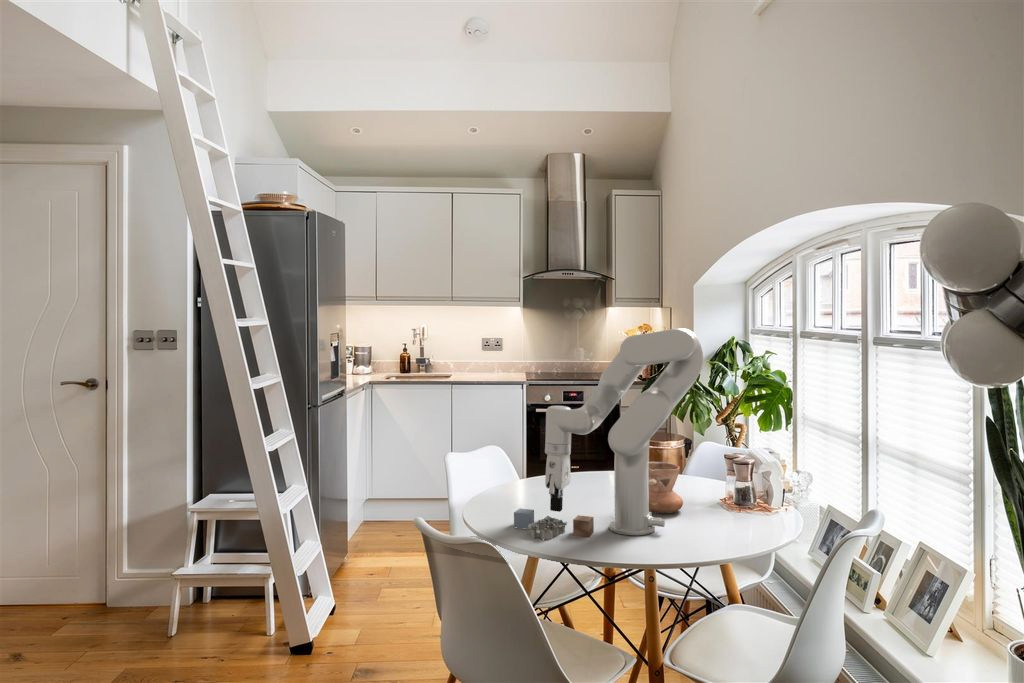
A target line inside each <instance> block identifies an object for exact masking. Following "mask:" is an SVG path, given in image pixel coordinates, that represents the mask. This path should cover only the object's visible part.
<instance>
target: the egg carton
mask: <svg viewBox="0 0 1024 683" xmlns="http://www.w3.org/2000/svg"><path fill="white" fill-rule="evenodd" d="M567 524H568V522H567V521H565V522H564V521H563V519H558V518H555V517H551V516H549V515H547V516H545V517H543V518H541V519H538V520H537V521H534V523H530V524H529V525H528V529H527V530H529V536H530V535H531V536H530V537H531V538H532V537H536V538H540V537H541V538H540V539H541V540H542V539H544V540H543V541H546V540H545V539H551V540H553V538H554V537H558V535H559V534H565V533H566V526H567Z"/></svg>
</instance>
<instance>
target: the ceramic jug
mask: <svg viewBox="0 0 1024 683" xmlns="http://www.w3.org/2000/svg"><path fill="white" fill-rule="evenodd" d="M679 474H680V466H678V465H676V464H674V463H671V462H666V461H649V512H652V514H656V515H667V514H668V515H669V514H672V513H675V512H678V511H679V510H681V509H682V507H683V505H684V501H683V498H682V497H681V496H680V495H679V494H678V493H676V492H675V491H674V490H673V488H674V487H675V485H676V481H677V479H678V476H679Z"/></svg>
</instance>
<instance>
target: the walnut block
mask: <svg viewBox="0 0 1024 683" xmlns="http://www.w3.org/2000/svg"><path fill="white" fill-rule="evenodd" d="M594 527H595V525H594V516H590V515H589V516H588V515H579V514H578V515H577V516H575V518H573V519H572V531H573V532H572V533H573V534H572V535H573V536H574V537H581V538H591V536H592V535H593V534H594V533H595V529H594Z"/></svg>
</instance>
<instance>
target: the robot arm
mask: <svg viewBox="0 0 1024 683" xmlns="http://www.w3.org/2000/svg"><path fill="white" fill-rule="evenodd" d="M619 347H620V348H619V351H618V352H617V354H615V356H614V357H613V359H612V360H611V361H610V362H609V363H608V365H607V366H606V368H605V369H604V370H603V371H602V373H601V375H600V378H599V382H598V385H597V386H596V388H595V390H594V391H593V393H592V394H591V395H590V396H589V398H588V399H587V400H586V401H585V403H584V404H583V405H582V406H581V407H579V408H573V409H572V408H571V407H569V406H566V405H551V406H548V407H547V408H546V412H545V441H544V442H545V443H544V444H545V445H544V446H545V447H544V453H545V454H546V455H547V457H546V464H545V476H544V477H545V480H544V481H545V482H544V483H545V487H546V489H548V494H549V495H550V505H549V506H550V507H549V508H550V511H552V512H558V513H560V512H562V511H563V496H564V489H565V488H566V487H567V486H569V485H570V483H571V456H570V455H571V453H572V450H571V449H572V434H576V435H581V436H584V435H588V434H590V433H591V432H593V431H595V430H596V429H598V427H600V426H601V424H602V423H603V422H604V421H605V419H606V418H607V417H608V415H609V414H610V413H611V411H612V410H614V408H615V407H616V405H617V403H618V402H619V401H621V399H622V398H623V397H624V395H625V394H626V393H627V391H629V389H630V388H631V386H632V385H633V384H634V382H635V381H636V380H637V378H638V377H639V376H640V375H641V374H642V373H643V371H644V370H645V369H646V368H647V366H651V365H657V364H665V363H668V365H667V366H666V367H665V368H664V369H663V371H662V372H661V373H660V374H659V376H658V377H657V378H656V380H655V381H654V382H653V383H652V384H651V385H650V387H649V388H647V389H646V390H644V391H642V392H641V393H640V394H638V396H636V398H634V400H633V402H631V403H630V405H629V406H628V407H627V408H626V410H624V412H623V413H622V414H621V416H620V417H619V418H618V419H617V420H616V421H615V423H614V424H613V425H612V426H611V428H610V429H609V431H608V435H607V436H608V437H607V442H608V445H609V446H608V447H609V448H610V449H611V450H612V451H613V453H614V461H613V462H614V466H613V467H614V474H613V475H614V476H613V477H614V479H613V480H614V482H613V483H614V485H613V486H614V492H613V493H614V520H612V521H610V522H609V526H608V528H609V529H610V531H611V532H614V533H616V534H620V535H625V536H643V535H645V536H646V535H649V534H651V533H653V532H655V530H656V529H655V528H656V527H662V528H665V525H666V521H665V520H666V519H663V518H662V517H654V516H652V515H653V513H652V512H649V462H650V461H649V460H650V441H651V438H652V437H653V436H654V435H655V434H656V432H657V431H658V430H659V429H660V428H661V426H663V424H664V423H665V422H666V421H667V419H668V418H669V417H670V415H671V414H672V412H673V411H674V409H675V407H676V406H677V405H678V404H679V403H680V401H681V400H682V399H683V397H684V396H685V395H686V394H687V393H688V391H689V390H690V389H691V388H692V387H693V385H695V382H696V381H697V379H698V378H699V375H701V374H700V373H701V371H702V368H703V364H704V352H703V347H702V344H701V342H700V340H699V338H698V336H697V335H696V334H695V332H694V331H692V330H690V329H688V328H685V327H684V328H683V327H678V328H677V327H676V328H671V329H664V330H659V331H652V332H647V333H640V334H631V335H629V336H627V337H626V338H625V339H623V341H622V342H621V344H620V346H619ZM684 398H685V397H684Z"/></svg>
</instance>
